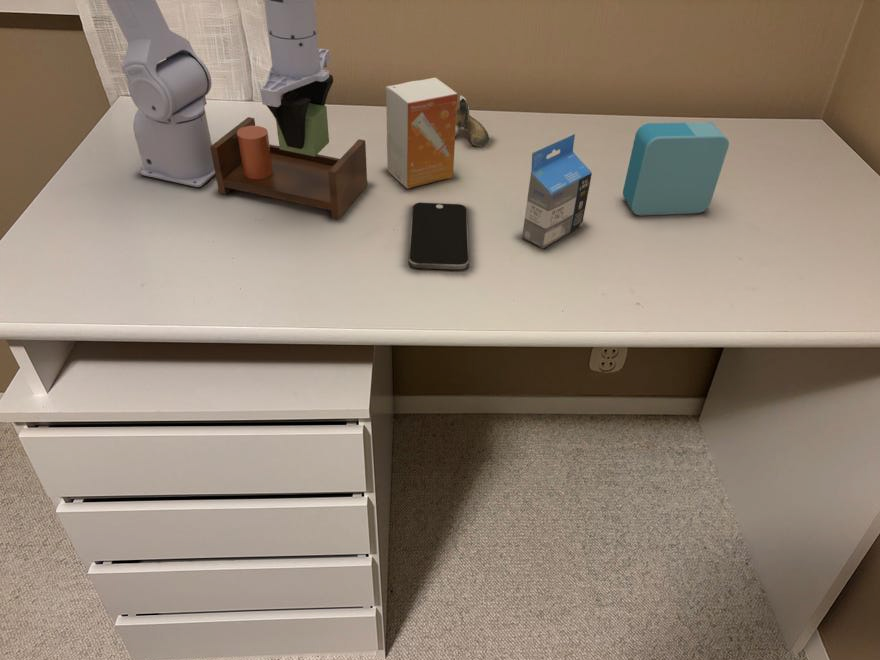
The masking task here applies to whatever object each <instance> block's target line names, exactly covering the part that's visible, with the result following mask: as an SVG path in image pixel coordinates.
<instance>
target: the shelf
mask: <svg viewBox="0 0 880 660" xmlns="http://www.w3.org/2000/svg"><path fill="white" fill-rule="evenodd" d="M246 126H256V121H255V117H249V116H247V117H246V118H245V119H243V120H242V121H241V122H239V123H238V124H237V125H235V127H233V128H232V129H230V130H229V131H228V132H227V133H226V134H224V135H223V136H222V137H220V138H219V139H218V140H216V141H215V142H214V143H213V144H212V145H211V146H210V149H211V154H212V159H213V164H214V169H215V179H216V185H217V188H218V193H219V194H221V195H227V194H228V193H229V192H230V191H232V190H237V191H241V192H245V193H251V194H255V195H260V196H263V197H267V198H273V199H278V200H282V201H286V202H287V201H288V202H291V203H295V204H299V205H304V206H305V205H306V206H309V207H314V208H318V209H323V210H329V211H331V219H335V220H340V219H341V218H342V216H343V215H344V214H345V212H346V211H348V209H349V208H350V207H351V206H352V204H353V203H354V202H355V201H356V200H357V198H358V197H359V196H360V195H361V194H362V193H363V191H364V190H365V189H366V188H367V187H368V173H367V172H368V171H367V169H368V167H367V147H366V140H365V139H361V138H360V139H357V140H356V142H355V143H354V144H353V145H352V146H351V147H349V149H348V150H347V151H346V152H345V153H344V154H343V155H342V156H341V157H340V158H338V157H334V156H328V155H325V154H324V155H323V154H320V153H318V154H317V155H316V156H315V157H314V156H310V155H305V154H300V153H295V152H290V151H286V150H281V149H280V147H279V145H275V144H270V143H269V145H270V152H271V159H272V166H273V174H272V175H271V176H270V177H268V178H265V179H259V180H256V179H250V178H247V177H246V176H245V175H244V173H243V167H242V161H241V155H240V149H239V144H238V138H237V131H238V130H239V129H241V128H243V127H246Z"/></svg>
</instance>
